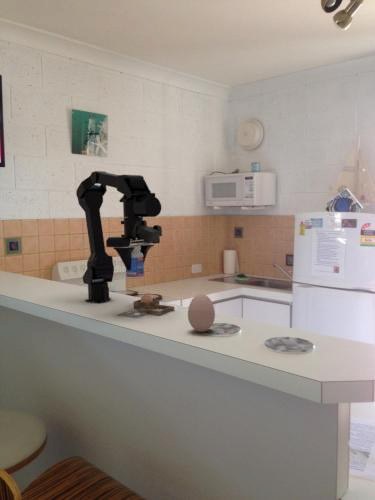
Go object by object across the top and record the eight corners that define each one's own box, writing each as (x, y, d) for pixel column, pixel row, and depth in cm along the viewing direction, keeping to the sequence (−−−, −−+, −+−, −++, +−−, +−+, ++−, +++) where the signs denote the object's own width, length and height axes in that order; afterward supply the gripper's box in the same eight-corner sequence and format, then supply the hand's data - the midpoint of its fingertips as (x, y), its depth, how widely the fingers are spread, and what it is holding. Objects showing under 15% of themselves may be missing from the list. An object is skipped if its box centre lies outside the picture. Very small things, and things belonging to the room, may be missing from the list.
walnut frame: (133, 308, 144) (133, 301, 144) (144, 305, 149) (144, 298, 149) (148, 310, 141) (148, 303, 141) (159, 306, 146) (159, 299, 146)
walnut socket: (138, 312, 138) (138, 308, 138) (153, 307, 145) (153, 304, 145) (159, 315, 134) (159, 311, 134) (174, 310, 141) (174, 306, 141)
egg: (215, 335, 113) (215, 296, 112) (187, 335, 113) (187, 296, 113) (214, 328, 120) (214, 291, 119) (188, 328, 120) (187, 291, 119)
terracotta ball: (137, 308, 145) (137, 295, 144) (145, 305, 148) (145, 293, 148) (147, 309, 143) (147, 296, 142) (155, 307, 146) (155, 294, 146)
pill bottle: (140, 279, 136) (139, 246, 136) (123, 279, 138) (122, 246, 137) (146, 276, 142) (145, 244, 141) (129, 276, 143) (128, 244, 142)
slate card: (118, 315, 136) (118, 313, 136) (128, 311, 140) (128, 310, 140) (137, 317, 132) (137, 316, 132) (147, 314, 137) (147, 312, 137)
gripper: (134, 217, 126) (136, 274, 127) (173, 216, 142) (174, 266, 143) (103, 218, 132) (105, 272, 133) (144, 216, 148) (145, 265, 149)
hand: (134, 269), depth 139 cm, fingers closed on pill bottle, 5 cm apart
